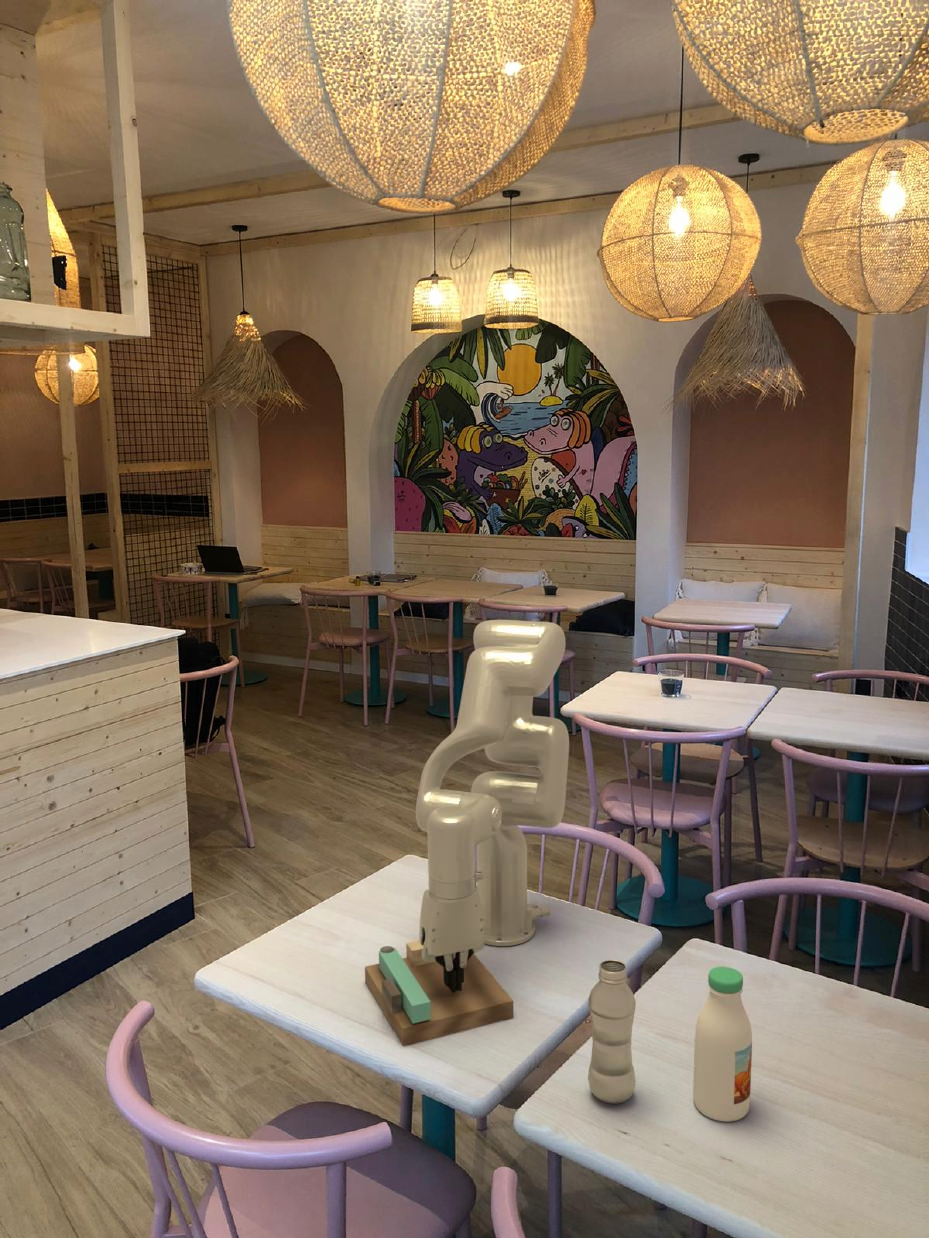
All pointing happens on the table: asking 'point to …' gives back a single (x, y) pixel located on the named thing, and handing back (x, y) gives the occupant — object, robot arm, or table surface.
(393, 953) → the folding leg
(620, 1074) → the plastic bottle
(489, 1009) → the stool seat
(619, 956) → the table surface
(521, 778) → the robot arm
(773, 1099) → the table surface
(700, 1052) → the milk bottle
